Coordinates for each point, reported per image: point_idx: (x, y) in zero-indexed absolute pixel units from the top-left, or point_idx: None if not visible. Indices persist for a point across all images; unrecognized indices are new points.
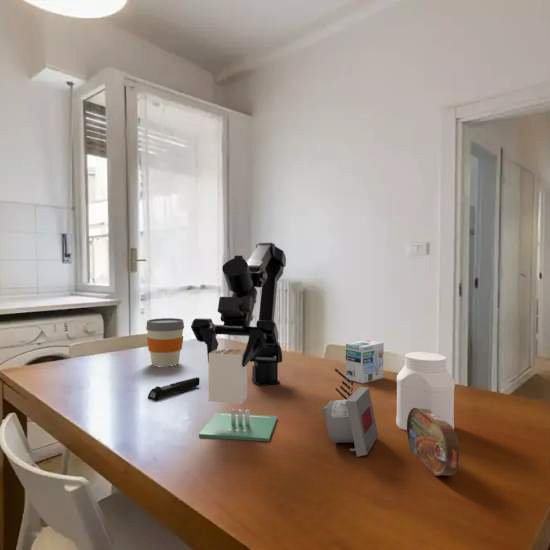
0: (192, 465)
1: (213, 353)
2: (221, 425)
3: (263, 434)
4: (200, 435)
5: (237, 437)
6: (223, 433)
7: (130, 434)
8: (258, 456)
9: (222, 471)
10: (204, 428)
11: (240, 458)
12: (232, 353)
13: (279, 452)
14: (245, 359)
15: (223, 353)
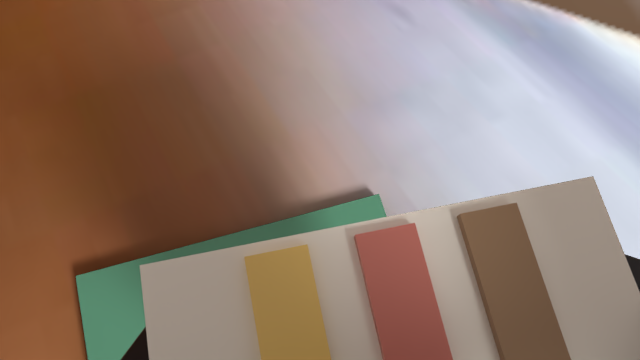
0: (265, 17)
1: (534, 193)
2: None
3: (113, 305)
4: (371, 196)
5: (217, 238)
6: None
7: (617, 118)
8: (80, 143)
9: (158, 18)
10: None
11: (138, 107)
12: (277, 253)
13: (9, 203)
14: (126, 352)
15: (407, 227)
